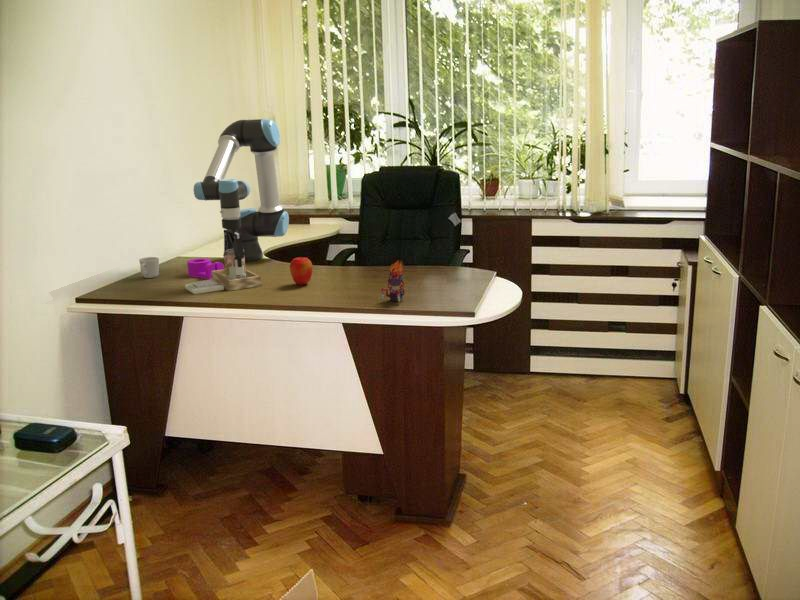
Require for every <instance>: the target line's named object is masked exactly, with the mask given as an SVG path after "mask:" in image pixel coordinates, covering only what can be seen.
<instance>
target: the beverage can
mask: <svg viewBox="0 0 800 600" xmlns="http://www.w3.org/2000/svg"><path fill="white" fill-rule="evenodd" d="M243 253H244V249H243ZM223 257H224V258H223V260H224V269H225V272H226V278H228V279H230V280H234V279H241V278H245V277H246V270H247V268H246V261H245V257H244V258H242V266H243V274H242V275H236V267H235V260H234V258H236V257H235V253H234V249H228V250H226V251H224V250H223Z"/></svg>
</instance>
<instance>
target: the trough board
mask: <svg viewBox="0 0 800 600" xmlns="http://www.w3.org/2000/svg"><path fill="white" fill-rule="evenodd" d="M211 272H212V278H211V279H210V280H212V281H217V282H218V283H220V284H221V285H223V286H224V290H227V291H229V292H230V291H236V290H237V291H238V290H242V289H248V288H256V287H263V283H262V280H261V276H260V275H258V274H257V273H254V272H252V271H250V270H248V269H246V277H245V278H241V279H234V280H230V279H228V278H226V272H225V268H224V269H223V270H216V271H211Z"/></svg>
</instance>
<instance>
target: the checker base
mask: <svg viewBox="0 0 800 600" xmlns="http://www.w3.org/2000/svg"><path fill="white" fill-rule="evenodd" d="M214 282H215V283H217V286H212V287H206V288H199V289H197V288H195V287H194V286H192V285H191V283H187V284H185V285H184V288H185V289H186V290H187V291H189V292H190V293H192V294H193V295H197V294H204V293H210V292H211V293H212V292H217V291H224V290H225V288H224V286H223V285H221V284H220V283H218V282H217V281H214Z"/></svg>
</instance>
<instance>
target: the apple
mask: <svg viewBox="0 0 800 600" xmlns="http://www.w3.org/2000/svg"><path fill="white" fill-rule="evenodd" d="M301 256H302V255H300V256H299V257H295V258H293V259H292V260H291V262H290V264H289V272H290V276H291V277H292V279H293V282H294V284H295V283H296V285H297V286H303V285H307V284H308V283H309V282H310V281H311V280H312V275H313V271H314V270H313V268H314V267H313V263H312V261H311V260H310V259H309V258H308V257H303V256H302V257H301Z"/></svg>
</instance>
